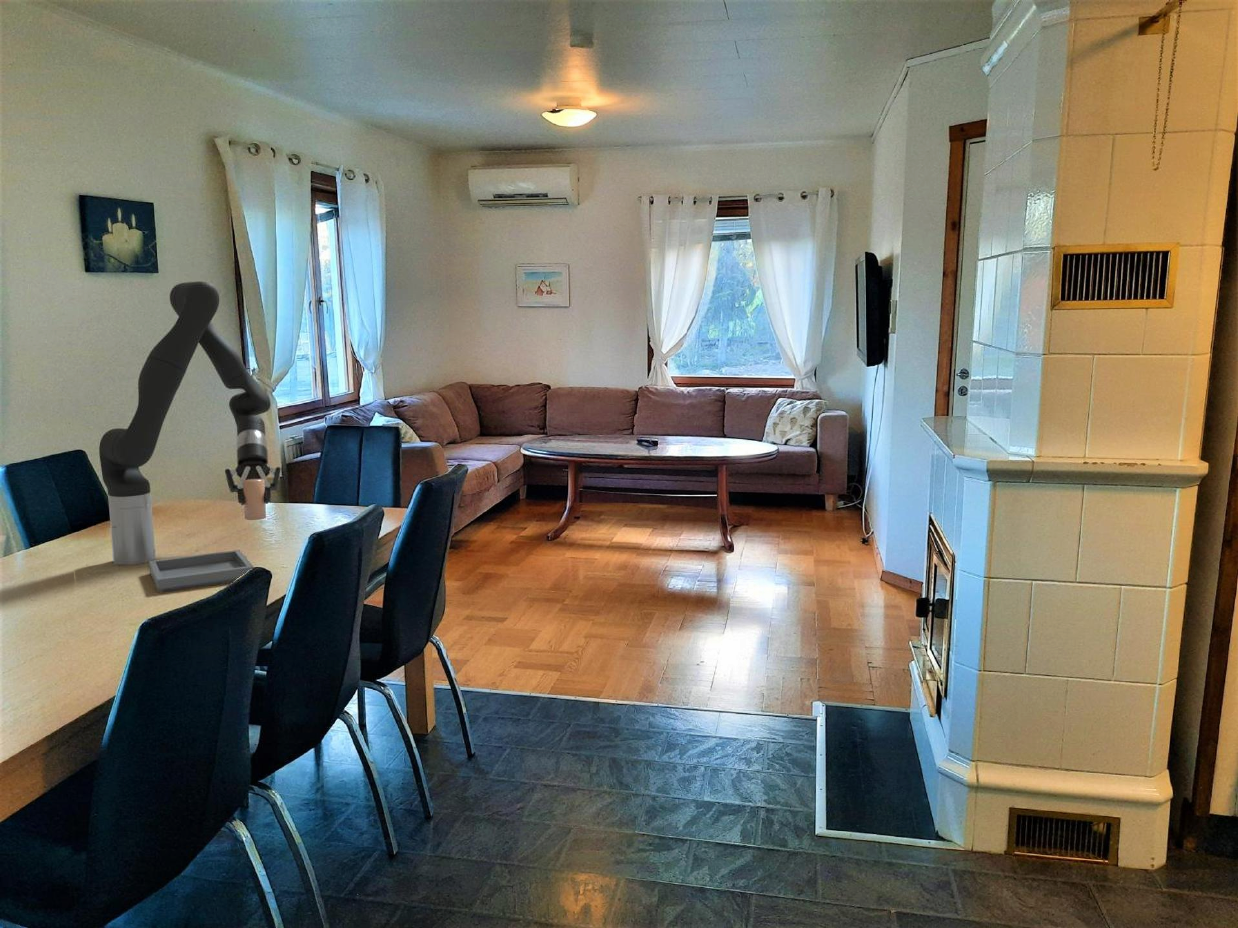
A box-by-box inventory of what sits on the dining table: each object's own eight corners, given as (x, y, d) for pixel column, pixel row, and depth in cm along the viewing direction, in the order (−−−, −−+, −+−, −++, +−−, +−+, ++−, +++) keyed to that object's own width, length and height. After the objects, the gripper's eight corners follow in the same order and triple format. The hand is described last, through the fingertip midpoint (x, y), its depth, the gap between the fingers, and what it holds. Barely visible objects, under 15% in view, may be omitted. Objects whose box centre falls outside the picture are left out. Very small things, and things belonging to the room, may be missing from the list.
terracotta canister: (246, 520, 224) (244, 482, 223) (242, 517, 229) (240, 479, 227) (267, 518, 227) (266, 480, 226) (263, 515, 231) (262, 477, 230)
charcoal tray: (158, 592, 193) (157, 579, 193) (150, 573, 208) (149, 561, 208) (254, 579, 204) (253, 566, 203) (240, 561, 219) (239, 549, 218)
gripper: (222, 442, 229) (223, 496, 220) (280, 441, 235) (284, 492, 226) (223, 460, 235) (224, 512, 226) (280, 458, 240) (284, 509, 231)
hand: (254, 502), depth 226 cm, fingers closed on terracotta canister, 5 cm apart
